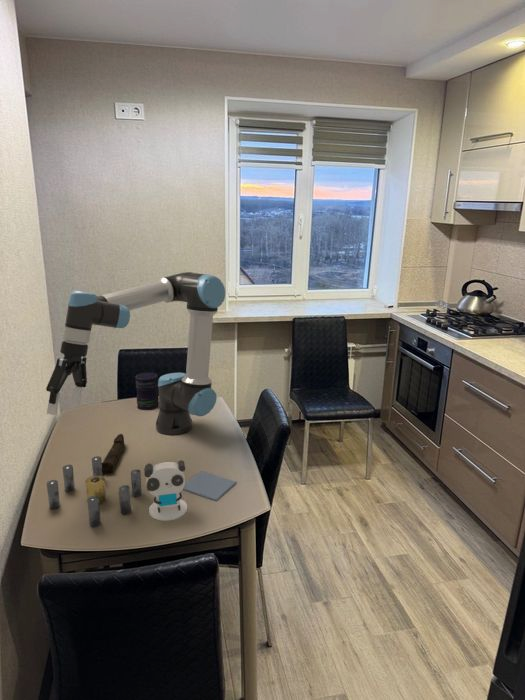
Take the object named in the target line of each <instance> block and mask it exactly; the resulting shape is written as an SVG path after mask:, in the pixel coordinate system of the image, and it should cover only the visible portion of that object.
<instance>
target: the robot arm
mask: <svg viewBox="0 0 525 700" xmlns="http://www.w3.org/2000/svg"><path fill="white" fill-rule="evenodd" d="M224 285H225V284H224V283H223V282H222V280H221V279H220V278H219V277H217V276H215V275H211V274H209V273H207V274H206V273H196V272H191V271H190V272H189V271H187V272H180V273H176V274H172V275H169V276H164V277H161V278H159V279H158V281H156V282H151V283H148V284H143V285H138V286H134V287H131V288H126V289H122V290H117V291H114V292H109V293H106V294H101V295H97V294H96V293H91V292H85V291H81V290H72V291H71V293H70V296H69V301H68V304H67V312H66V317H65V323H64V328H63V329H62V331H63V335H62V341H61V345H60V353H61V354H63V355H64V356H63V358H60V357H58V358H57V360H56V364H55V367H54V369H53V371H52V374H51V376H50V379H49V381H48V384H47V386H46V387H45V388H46V389H45V390H46V392H49V397H48V398H49V399H48V403H47V409H46V414H48V415H52V416H57V415H58V409H59V403H60V398H61V392H60V391H61V389H62V388H63V386H64V383H66V381H67V379H68V377H69V376H71V375H72V378H73V382H74V385H73V386H72V391H71V397H70V404H69V406H70V407H74V408H79V407H80V403H81V397H82V392H83V388H86V387H87V383H88V377H87V374H88V373H87V354H88V350H89V345H88V344H89V343H90V339H91V334H92V333H91V332H92V328H93V326H101V327H108V328H114V329H124V328H126V327H127V326H128V325H129V323H130V319H131V312H130V311H133V310H137V309H140V308H144V307H147V306H151V305H155V304H158V303H162V302H164V303H166V304H167V303H173V302H183V303H186V311H187V312H189V315H190V316H189V326H188V327H189V328H188V339H187V341H188V342H187V354H186V355H187V356H186V367H185V369H186V370H185V371H186V372H172V373H171V372H170V373H166V374H163V375H161V376H160V377H159V378H158V387H157V390H158V398H159V401H158V404H159V406H158V408H159V409H158V414H157V418H156V422H155V430H156V431H157V432H158V433H159V434H162V435H168V436H170V435H171V436H176V435H182V434H185V433H188V432H190V431H192V429H193V425H194V423H193V419H192V417H191V416H196V417H204V416H206V415H207V414H210V413H211V411H212V410H214V407H215V405H216V404H217V398H218V397H217V392H216V391H215V390H214V389H213V388H212V383H213V381H212V379H211V378H210V377H209V370H210V359H211V345H212V333H213V323H214V322H213V321H214V316H215V314H217V313H218V309H219V307H220V306H222V305H223V303H224V301H225V299H226V288H225V286H224Z"/></svg>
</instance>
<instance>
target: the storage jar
mask: <svg viewBox="0 0 525 700" xmlns="http://www.w3.org/2000/svg"><path fill="white" fill-rule="evenodd" d="M158 381H159V378H158V374H157V373H155V372H141V373H137V374H136V375H135V389H136V404H137V406H136V407H137V409H138V410H140V411H152V410H153V411H154V410H155V409H158V408H159V389H158Z"/></svg>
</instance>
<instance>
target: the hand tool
mask: <svg viewBox="0 0 525 700" xmlns="http://www.w3.org/2000/svg"><path fill="white" fill-rule="evenodd" d="M124 449H125V437H124V434H123V433H119V434H117V436H116V437H115V438H114V440H113V444H112V446H111V448H110V449H109V451H108V453H107V455H106V456H105V457H104V459H103V462H102V473H103V475H111V474H113V473H114V469H115V466H116V464H117V462H118V460H119V458H120V456H121V454H122V453H123V452H124Z"/></svg>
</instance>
